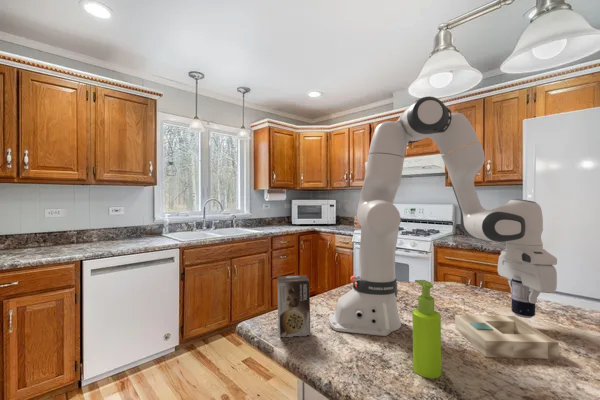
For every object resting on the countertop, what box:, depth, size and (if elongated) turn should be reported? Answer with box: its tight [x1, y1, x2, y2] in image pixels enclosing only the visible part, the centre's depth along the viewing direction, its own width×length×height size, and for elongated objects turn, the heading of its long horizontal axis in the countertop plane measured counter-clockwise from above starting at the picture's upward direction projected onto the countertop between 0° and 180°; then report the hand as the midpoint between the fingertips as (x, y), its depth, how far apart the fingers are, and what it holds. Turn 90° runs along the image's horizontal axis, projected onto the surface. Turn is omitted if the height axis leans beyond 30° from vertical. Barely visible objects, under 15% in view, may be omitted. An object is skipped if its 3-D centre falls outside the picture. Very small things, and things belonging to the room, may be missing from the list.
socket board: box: [454, 314, 560, 360], centre depth 78 cm, size 17×16×4 cm
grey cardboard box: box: [276, 274, 312, 338], centre depth 85 cm, size 9×6×16 cm
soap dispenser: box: [412, 279, 442, 379], centre depth 66 cm, size 6×7×20 cm
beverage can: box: [511, 275, 536, 319], centre depth 87 cm, size 6×6×12 cm
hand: (523, 298), depth 87 cm, fingers closed on beverage can, 6 cm apart
